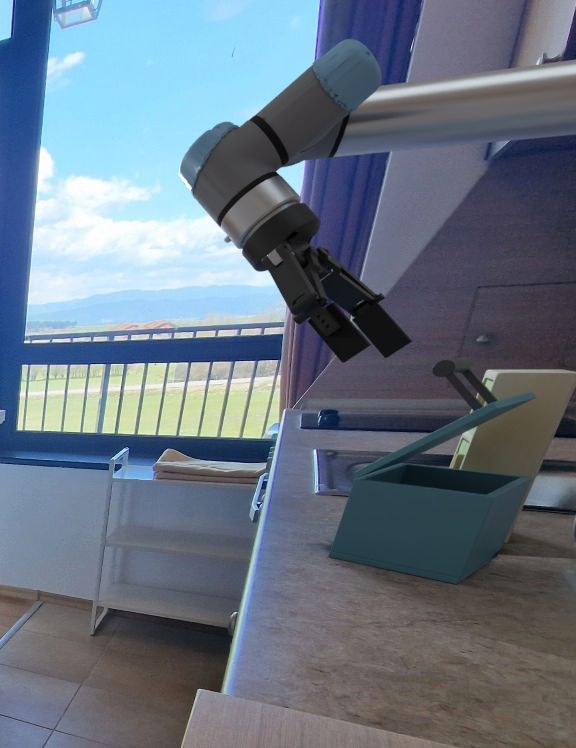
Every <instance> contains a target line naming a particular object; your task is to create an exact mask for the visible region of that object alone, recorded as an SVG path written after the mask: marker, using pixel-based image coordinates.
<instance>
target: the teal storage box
mask: <svg viewBox="0 0 576 748" xmlns="http://www.w3.org/2000/svg"><path fill="white" fill-rule="evenodd" d="M532 478H533V477H527V476H518V475H509V474H500V473H490V472H481V471H472V470H463V469H454V468H449V467H445V466H435V465H425V464H418V463H408V462H402V463H399V464H396V465H393V466H391V467H388V468H385V469H382V470H379V471H376V472H373V473H370V474H367V475H364V476H362V477H356V478H354V479H353V481H352V485H351V487H350V491H349V493H348V497H347V500H346V504H345V506H344V508H343V512H342V514H341V518H340V521H339V524H338V527H337V530H336V533H335V535H334V538H333V542H332V545H331V547H330V551H329V553H328V558H333V559H337V560H340V561H341V560H342V561H347V562H351V563H356V564H359V565H365V566H371V567H373V568H380V569H383V570H387V571H394V572H398V573H402V574H407V575H412V576H416V577H421V578H425V579H431V580H434V581H440V582H444V583H449V584H454V585H458V584H459V583H461V582H462V581H464V580H466V579H467V578H468V577H470V576H471V575H473V574H474V573H475V572H477V571H478V570H480V569H482V568H483V567H485V566H486V565H487V564H488V563H490V562H492V561H493V560H494V559H495V558H497V557H499V553H497V552H499V551H500V550H501V549H502V547H503V544H504V543H505V542H504V540H505V538H506V536H507V534H508V532H509V529H510V527H511V525H512V523H513V520H514V518H515V516H516V514H517V512H518V509H519V507H520V505H521V503H522V501H523V498H524V496H525V494H526V492H527V489H528V487H529V485H530V483H531V481H532Z"/></svg>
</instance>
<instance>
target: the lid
mask: <svg viewBox="0 0 576 748" xmlns="http://www.w3.org/2000/svg"><path fill="white" fill-rule="evenodd" d="M474 366H475V361H474V359H473V358H471V357H469V356H464V357H455V358H449V359H442V360H439V361H437V362H435V364H434V365H433V366H432V368H431V373H432V374H433V376H435V377H436V378H446V380H447V381H448V382H449V383H450V384H451V386H452V387H453V388H454V389H455V391H456V392H457V393H458V394H459V395H460V397H461V398H462V399H463V400H464V401H465V402H466V403H467V405H468V406H469V407H470V408H471V409H473V411H474V412H472V413H470V412H469V413H468V414H466V415H463V416H462V417H460V418H458V419H456V420H454V421H452V422H450V423H449V424H446V425H444V426H443V427H441V428H439V429H436V430H434V431H432V432H431V433H428V434H427V435H425V436H423V437H421V438H419V439H417V440H415V441H412V442H411V443H408V444H407V445H404V446H403V447H401V448H399V449H397V450H394V451H392V452H391V453H389V454H386V455H385V456H383V457H381V458H379V459H377V460H375V461H373V462H371V463H369V464H367V465H365V466H363V467H361V468H359V469H358V470H355V471H354V472H353V473H354V474H355V476H356V478H359V477H362V476H365V475H368V474H370V473H373V472H376V471H379V470H382V469H385V468H388V467H391V466H394V465H397V464H400V463H406V462H407V461H410V460H411V459H413V458H415V457H418V456H420V455H422V454H423V453H426V452H428V451H430V450H431V449H434V448H436V447H438V446H440V445H442V444H444V443H446V442H449V441H450V440H452V439H455V438H456V437H459V436H460V435H462V434H463V433H465V432H467V431H469V430H471V429H473V428H475V427H477V426H479V425H481V424H483V423H485V422H487V421H489V420H491V419H493V418H495V417H497V416H499V415H502V414H504V413H506V412H508V411H510V410H512V409H514V408H516V407H518V406H520V405H522V404H524V403H526V402H528V401H530V400H532V399H534V398H536V396H535V395H534V394H533V392H530V393H526V394H522V395H518V396H515V397H511V398H507V399H503V400H500V401H498V400H497V399H496V398H495V396H494V395H493V394H492V393H491V392H490V391H489V389H488V388H487V387H486V386H485V385H484V384H483V382H482V380H481V379H480V377H479V376H478V375H477V374H476V373H475V371H473V368H474ZM461 374H462V376H463V377H464V378H465V380H466V381H467V382H468V383H469V384H470V385H471V386H472V388H473V389H474V390H475V392H477V394H478V393H479V394H480V396H481V397H482V398H483V399H484V400H485V402H486V403H487V404H488V405H486V406H483V405H482V404H481V403H480V401H479V400H478V399H477V398H476V397H477V396H475V394H474V393H473V391H472V390H471V389H470V388H469V387H468V385H466V384H465V382H464V381H463V380H462V379H461V378H460V376H459V375H461Z"/></svg>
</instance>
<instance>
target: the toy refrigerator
mask: <svg viewBox="0 0 576 748" xmlns="http://www.w3.org/2000/svg"><path fill="white" fill-rule="evenodd" d="M481 381H482V382H483V384H484V385H485V386H486V387H487V388H488V389H489V391H490V392H491V393H492V394H493V395H494V396H495V398H496V399H497V400H498V401H500V400H503V399H507V398H511V397H515V396H518V395H522V394H526V393H530V392H533V394H534V395H535V396H536V398H534V399H532V400H530V401H528V402H526V403H524V404H522V405H520V406H518V407H516V408H514V409H512V410H510V411H508V412H506V413H504V414H502V415H499V416H497V417H495V418H493V419H491V420H489V421H487V422H485V423H483V424H481V425H479V426H477V427H475V428H473V429H471V430H469V431H467V432H465V433H463V434H461V436H460V438H459V441H458V444H457V446H456V448H455V451H454V454H453V457H452V460H451V461H450V465H449V467H448V468H454V469H463V470H472V471H481V472H490V473H500V474H509V475H518V476H527V477H533V478H532V481H531V483H530V485H529V487H528V489H527V492H526V494H525V496H524V498H523V501H522V503H521V505H520V507H519V509H518V512H517V514H516V516H515V518H514V520H513V523H512V525H511V527H510V529H509V532H508V534H507V536H506V538H505V540H504V543H507V544H508V542H509V541H510V538H511V536H512V533H513V531H514V528H515V526H516V524H517V522H518V519H519V517H520V515H521V513H522V511H523V508H524V506H525V503H526V501H527V499H528V497H529V494H530V492H531V490H532V487H533V485H534V483H535V481H536V478H537V476H538V474H539V471H540V470H541V468H542V465H543V462H544V459H545V457H546V455H547V454H548V451H549V448H550V446H551V444H552V441H553V439H554V437H555V435H556V432H557V430H558V428H559V426H560V424H561V421H562V418H563V417H564V414H565V412H566V409H567V407H568V405H569V402H570V400H571V398H572V395H573V393H574V391H575V389H576V371H574V370H567V369H487V370H486V371H485V373H484V375H483V378H482V380H481ZM475 397H476V398H477V399H478V400H479V401H480V403H481V404H482V405H483V406H486V405H488V404H487V403H486V402H485V400H484V399H483V398H482V397H481V396H480V394H479V393H478V392H477V393H476V396H475ZM472 412H474V411H473V409H472V408H471V410H470V412H469V414H470V413H472Z"/></svg>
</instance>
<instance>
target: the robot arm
mask: <svg viewBox="0 0 576 748" xmlns="http://www.w3.org/2000/svg"><path fill="white" fill-rule="evenodd" d="M381 83H382V71H381V67H380V65H379V63H378V60H377V59H376V58H375V56H374V54H373V53H372V52H371V50H370V49H369V48H368V47H367V46H366V45H365V44H363V42H361V41H359V40H357V39H354V38H348V39H347V38H346V39H343V40H342V41H340V42H338V43H337V44H336V45H335V46H333V47H332V48H331V49H330V50H328V51H327V52H326V53H325V54H324V55H322V56H320V58H317V59H315V61H313V62H312V64H311V65H310V66H309V67H307V69H306V70H305V71H303V72H302V74H300V75H299V76H298V77H297V78H296V79H295V80H293V81H292V82H291V83H290V84H288V86H286V87H285V88H284V89H282V90H281V92H280V93H279V94H277V95H276V96H275V97H274V98H273V99H272V100H270V101H269V102H268V103H267V104H266V105H265V106H263V108H262V109H260V110H259V111H258V112H257V113H256V114H254V115H253V116H252V117H251V118H250V119H248V120H246V121H245V122H244V123H243V124H241V125H240V126H239V125H238V124H234V123H233V122H232V121H222V122H220V123H217V124H216V125H214V126H213V127H212V128H211V129H208V130H206V131H204V132H203V133H202V134H201V135H200V136H198V137H197V138H196V139H195V141H194V142H193V143H192V144H191V145H190V146H189V148H188V149H186V152H185V153H184V154H183V156H182V159H181V161H180V163H179V167H178V176H179V178H180V180H181V182H183V184H184V185H185V187H186V188H187V190H188V191H189V192H190V194H191V195H192V198H193V199H194V200H196V202H197V203H198V204H199V205H200V206H201V207H202V209H203V210H204V211H205V212H206V213H207V214H208V216H209V217H210V218H211V219H212V220H213V221H214V222H215V223H216V224H217V226H218V227H219V228H220V229H221V230H222V231H223V232H224V233H225V234H226V235H225V237H224V238H223V241H224V242H225V243H226V244H229V243H231V242H232V243H233V245H234V246H235V247H236V248H237V249H238V250H242V251H241V255H242V257H244V259H245V260H246V261H247V262H248V264H249V265H250V266H251V267H252V268H253V270H254V271H255V272H259V273H260V272H268V273H269V274H270V276H271V278H272V280H273V282H274V283H275V285H276V287H277V289H278V291H279V293H280V295H281V296H282V298H283V300H284V302H285V304H286V306H287V308H288V309H289V311H290V313H291V315H293V316H294V317H293V318H292V320H293V322H295V323H296V324H297V325H302V324H303V323H304V322H305V321H307V323H308V324H309V325H310V326H311V327H312V329H313V330H314V331H315V332H316V334H317V335H318V336H319V337H320V338H321V339H322V341H323V342H324V343H325V344H326V346H327V347H328V348H329V349H330V350H331V351H332V353H333V354H334V355H335V356H336V357H337V359H339V361H340V362H341V363H342V364H344V363H347V362H348V361H349V360H351V359H353V358H354V357H356V356H357V355H358V354H360V353H362V352H363V351H364V350H367V348H369V347H371V346H372V345H373V346H374V348H376V349H377V351H378V352H379V353H380V354H381V355H382V356H383V358H385V359H387V358H389V357H390V356H392V355H394V354H395V353H397V352H398V351H400V350H402V349H403V348H405V347H406V346H408V345H409V344H411V343H413V340H412V339H411V338H410V337H409V336H408V334H407V333H405V331H404V330H403V329H402V328H401V327H400V325H398V323H397V322H396V321H395V320H394V319H393V318H392V316H391V315H390V314H388V312H387V310H385V308H383V306H381V304H380V303H381V302H382V301H384V300H385V299H386V297H385V295H384V294H383V293H382V292H380V293H375V292H374V291H373V290H372V289H371V288H369V286H368V285H366V284H365V283H364V282H363V281H362V280H361V279H360V278H358V277H357V276H356V275H355V274H354V273H352V271H350V270H349V269H348V268H347V267H346V266H344V265H343V264H342V263H341V262H340V261H339V260H338V259H337V258H336V257H335V256H334V255H333V254H332V253H331V252H330V250H329V248H326V247H322V246H317V247H316V248H315V247H314V246H313V245H311V241H312V239H313V238H314V236H316V235H317V233H318V232H319V230H320V228H321V225H322V222H321V219H320V218H319V217H318V216H317V214H316V213H315V212H314V211H313V210H312V209H311V208H310V206H308V204H307V203H305V202H301V200H302V197H301V195H300V194H298V192H297V191H296V190H295V189H294V188H293V187H292V186H291V185H290V184H289V183H288V182H287V181H286V180H285V178H284V177H283V176H282V175H281V174H280V173H278V172H277V171H279V170H280V169H281V168H287V167H292V166H294V165H297V164H300V163H302V162H303V161H313V160H314V161H315V160H324V159H330V158H331V159H332V158H337V157H347V156H349V157H350V156H359V155H360V156H361V155H369V154H381V153H392V152H402V151H412V150H425V149H433V148H435V149H436V148H445V147H455V146H466V145H468V146H469V145H476V144H477V145H478V144H488V143H499V142H509V141H519V140H530V139H531V140H532V139H541V138H552V137H553V138H554V137H563V136H572V135H573V136H574V135H576V59H571V60H569V59H568V60H563V61H556V62H547V63H540V64H534V65H533V64H532V65H526V66H518V67H510V68H504V69H503V68H502V69H496V70H488V71H482V72H474V73H467V74H458V75H450V76H444V77H437V78H428V79H423V80H414V81H405V82H399V83H392V84H385V85H381ZM329 299H330V300H331V301H332V302H331V303H330V302H329ZM329 303H330V304H329ZM342 309H343V310H344V311H345V312H347V313H348V314H349V315H350V316H351V317H352V318H351V319H349V318H348V317H347V315H346V314H345V313H344V312H343V311H342ZM357 327H358V328H357ZM361 332H362V333H361ZM363 334H364V335H363ZM368 340H369V341H368ZM370 342H371V343H370Z"/></svg>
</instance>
